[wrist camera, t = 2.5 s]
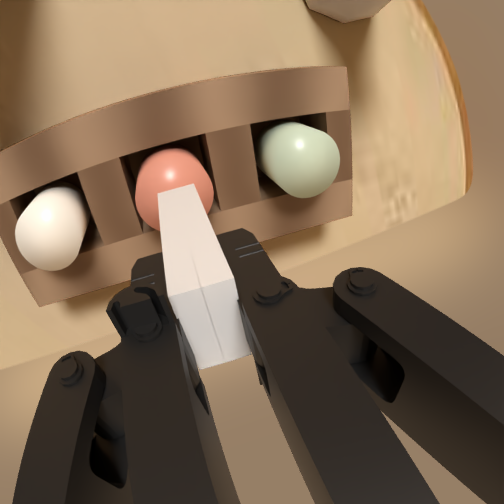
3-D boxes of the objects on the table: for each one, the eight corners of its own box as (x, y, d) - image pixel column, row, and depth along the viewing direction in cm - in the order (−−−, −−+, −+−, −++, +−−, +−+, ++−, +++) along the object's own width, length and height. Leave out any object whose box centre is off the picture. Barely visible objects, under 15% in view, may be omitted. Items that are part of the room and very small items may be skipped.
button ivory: (48, 247, 17) (34, 278, 14) (25, 194, 15) (4, 218, 12) (99, 229, 18) (91, 259, 15) (78, 172, 16) (63, 193, 13)
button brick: (147, 214, 18) (148, 241, 15) (130, 155, 16) (125, 172, 13) (207, 197, 19) (220, 221, 16) (195, 137, 17) (205, 149, 14)
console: (51, 273, 20) (39, 307, 17) (-1, 151, 15) (-28, 168, 11) (324, 194, 24) (352, 215, 21) (314, 66, 19) (346, 66, 15)
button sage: (258, 184, 19) (279, 205, 17) (249, 125, 17) (271, 135, 14) (312, 171, 20) (340, 190, 17) (308, 115, 18) (338, 124, 15)
